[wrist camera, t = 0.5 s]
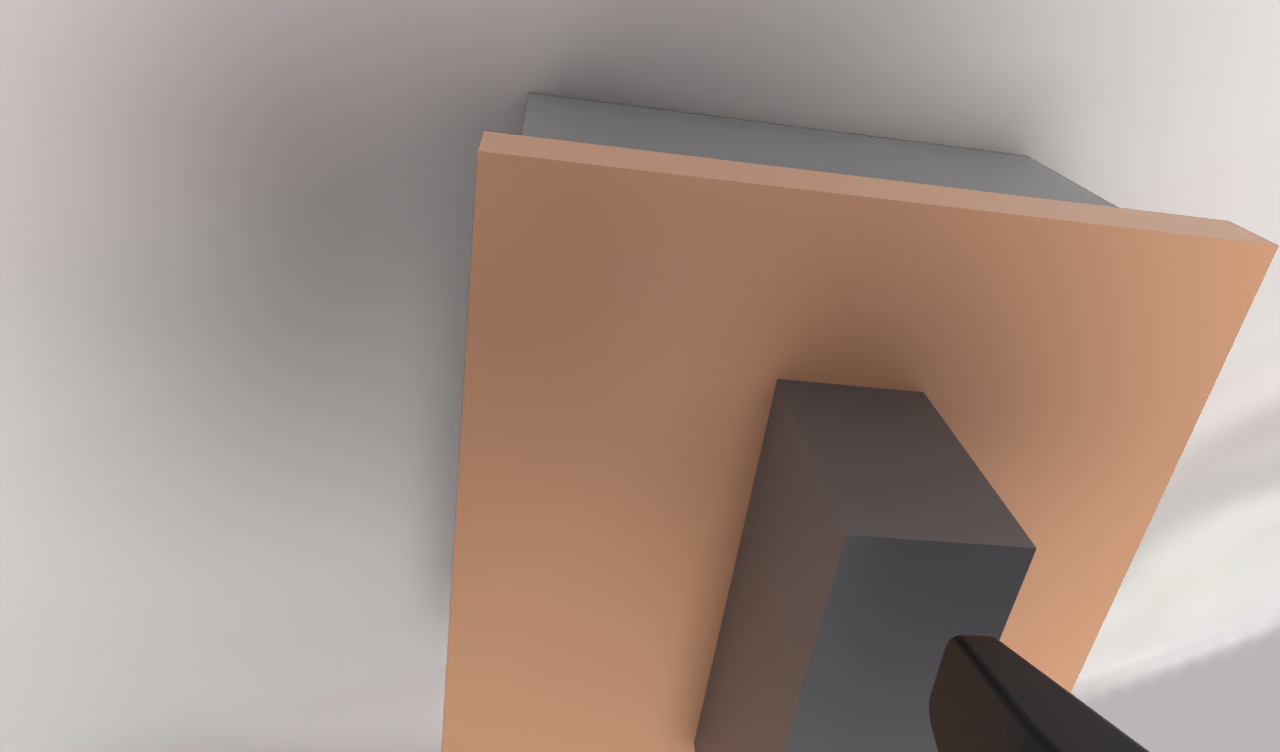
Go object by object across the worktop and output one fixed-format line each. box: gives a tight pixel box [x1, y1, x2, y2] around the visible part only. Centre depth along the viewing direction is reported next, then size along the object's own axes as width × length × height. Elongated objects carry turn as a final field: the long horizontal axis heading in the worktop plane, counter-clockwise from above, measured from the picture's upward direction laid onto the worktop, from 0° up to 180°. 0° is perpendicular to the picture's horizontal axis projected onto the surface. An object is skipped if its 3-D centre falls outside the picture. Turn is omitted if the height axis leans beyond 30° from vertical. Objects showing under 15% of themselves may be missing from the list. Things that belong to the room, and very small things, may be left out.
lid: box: [441, 131, 1278, 752], centre depth 16 cm, size 14×12×6 cm
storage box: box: [522, 93, 1118, 208], centre depth 20 cm, size 13×11×6 cm
